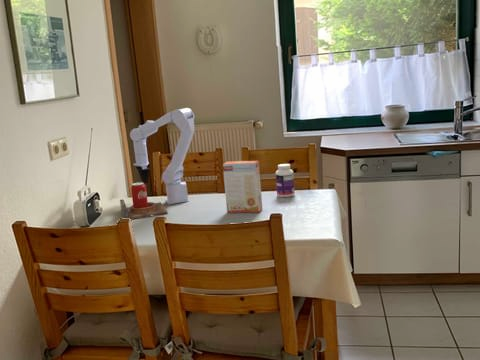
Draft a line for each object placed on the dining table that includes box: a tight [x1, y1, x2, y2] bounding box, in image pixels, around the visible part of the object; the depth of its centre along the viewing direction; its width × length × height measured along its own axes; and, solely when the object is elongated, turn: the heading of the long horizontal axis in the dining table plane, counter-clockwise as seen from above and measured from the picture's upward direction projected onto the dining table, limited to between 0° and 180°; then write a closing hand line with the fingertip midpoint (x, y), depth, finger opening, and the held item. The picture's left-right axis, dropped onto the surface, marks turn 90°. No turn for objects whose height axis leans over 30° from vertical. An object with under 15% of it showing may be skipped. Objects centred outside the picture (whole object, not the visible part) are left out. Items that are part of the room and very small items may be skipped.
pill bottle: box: [275, 163, 295, 198], centre depth 228 cm, size 8×8×14 cm
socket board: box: [119, 198, 169, 220], centre depth 222 cm, size 18×18×5 cm
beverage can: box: [130, 181, 149, 208], centre depth 221 cm, size 6×6×12 cm
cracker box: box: [222, 160, 263, 214], centre depth 209 cm, size 14×6×21 cm, turn 71°
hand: (144, 181), depth 240 cm, fingers open, 7 cm apart
